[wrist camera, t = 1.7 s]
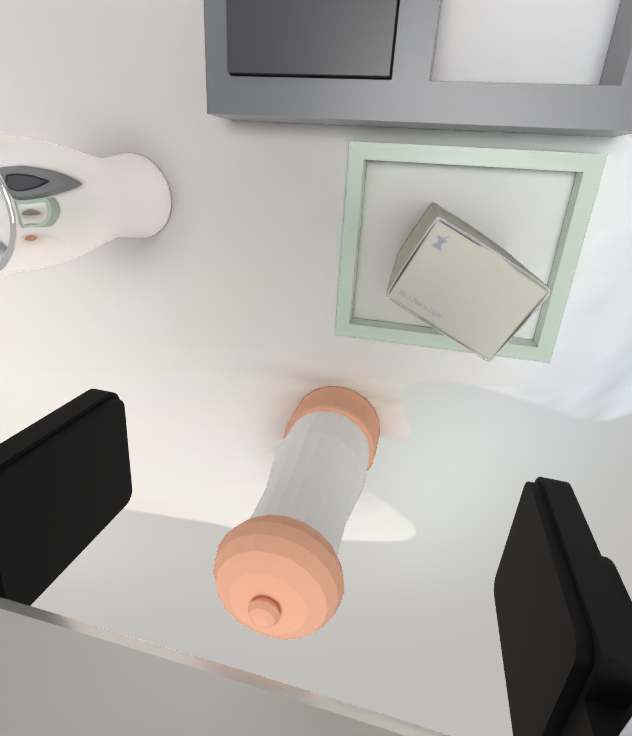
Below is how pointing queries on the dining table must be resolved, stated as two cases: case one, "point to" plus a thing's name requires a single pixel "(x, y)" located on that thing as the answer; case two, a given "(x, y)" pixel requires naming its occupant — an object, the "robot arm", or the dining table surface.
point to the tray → (582, 163)
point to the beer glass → (72, 202)
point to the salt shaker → (300, 520)
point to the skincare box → (464, 284)
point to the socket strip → (388, 72)
